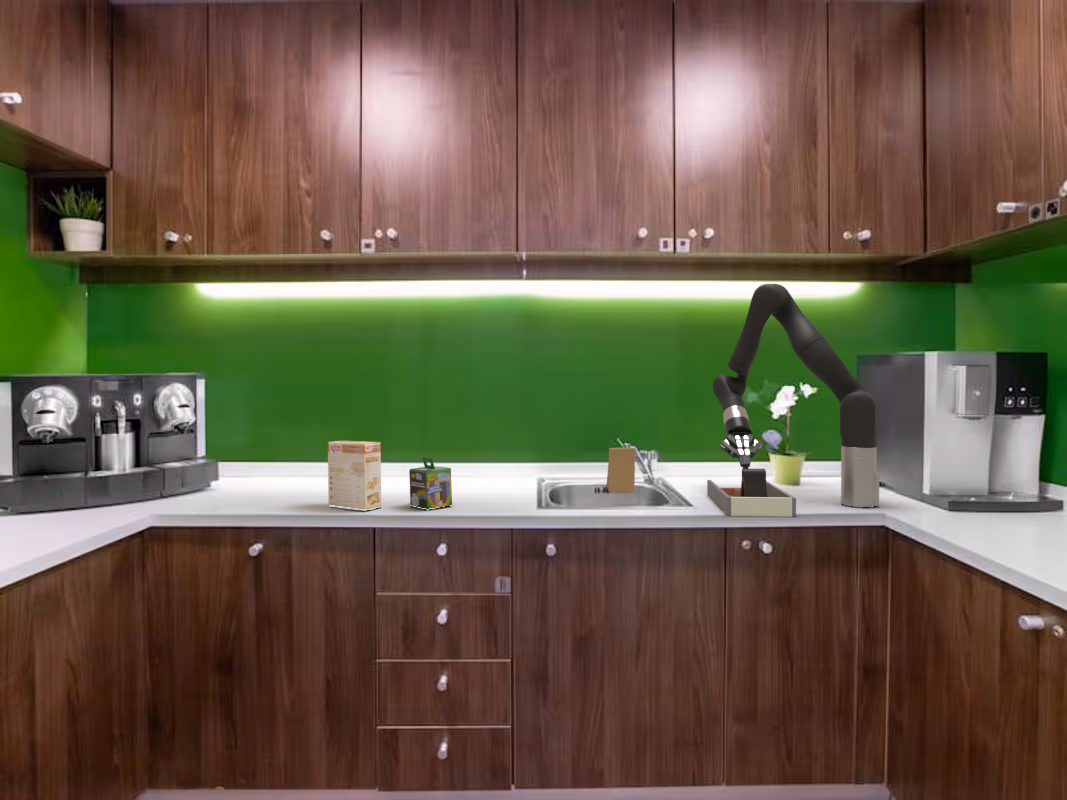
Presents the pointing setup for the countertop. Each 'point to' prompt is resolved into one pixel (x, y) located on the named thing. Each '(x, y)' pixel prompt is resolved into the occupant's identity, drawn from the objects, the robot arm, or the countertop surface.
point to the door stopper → (753, 483)
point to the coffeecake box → (354, 474)
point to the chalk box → (430, 486)
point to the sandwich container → (621, 470)
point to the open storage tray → (752, 502)
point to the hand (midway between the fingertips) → (746, 467)
